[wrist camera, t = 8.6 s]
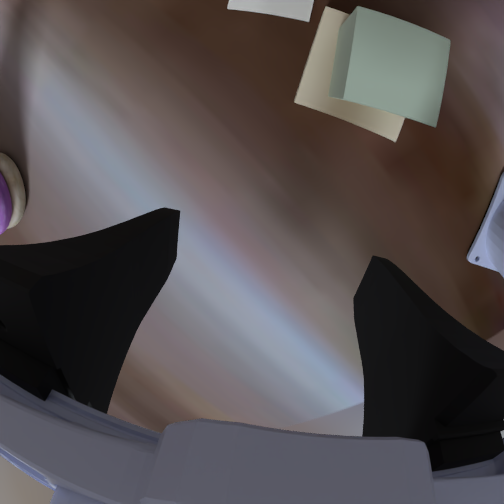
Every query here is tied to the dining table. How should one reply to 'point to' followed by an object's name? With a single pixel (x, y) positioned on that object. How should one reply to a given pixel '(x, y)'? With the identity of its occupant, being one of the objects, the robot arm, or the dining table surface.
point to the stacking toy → (10, 194)
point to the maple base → (319, 78)
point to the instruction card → (276, 7)
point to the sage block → (390, 65)
